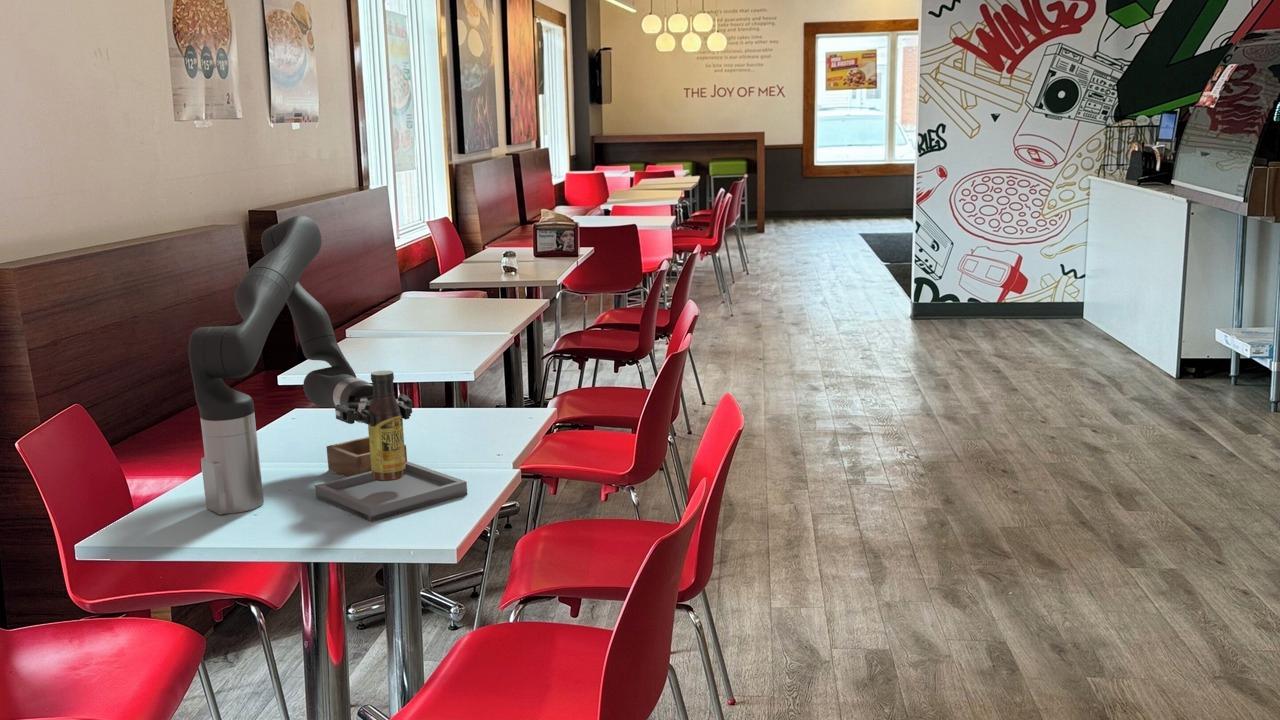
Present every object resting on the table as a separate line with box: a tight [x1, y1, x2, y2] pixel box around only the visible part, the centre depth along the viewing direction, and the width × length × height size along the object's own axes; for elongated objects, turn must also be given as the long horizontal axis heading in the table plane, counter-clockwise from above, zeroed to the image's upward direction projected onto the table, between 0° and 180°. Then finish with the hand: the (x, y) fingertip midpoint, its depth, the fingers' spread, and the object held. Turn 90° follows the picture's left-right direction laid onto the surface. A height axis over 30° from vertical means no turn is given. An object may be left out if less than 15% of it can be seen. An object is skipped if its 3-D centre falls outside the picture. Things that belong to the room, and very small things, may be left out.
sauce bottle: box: [367, 370, 406, 481], centre depth 208 cm, size 7×6×20 cm
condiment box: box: [325, 436, 408, 478], centre depth 227 cm, size 11×12×5 cm
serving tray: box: [314, 461, 468, 523], centre depth 210 cm, size 20×20×2 cm
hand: (389, 416), depth 205 cm, fingers closed on sauce bottle, 6 cm apart
